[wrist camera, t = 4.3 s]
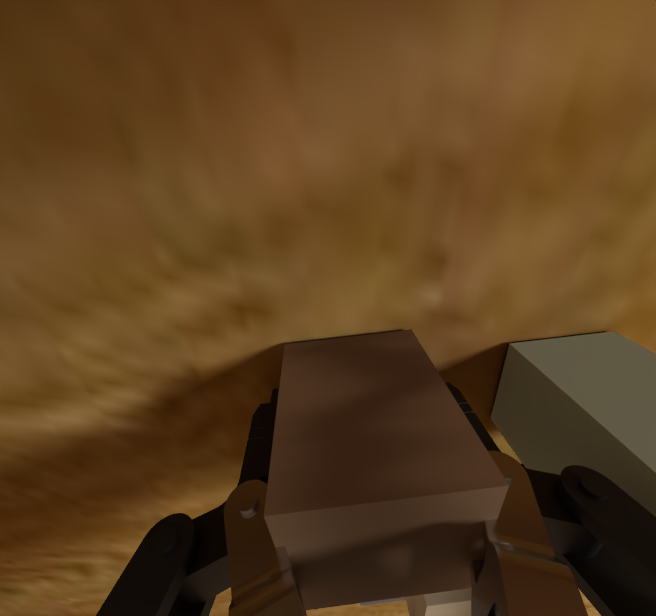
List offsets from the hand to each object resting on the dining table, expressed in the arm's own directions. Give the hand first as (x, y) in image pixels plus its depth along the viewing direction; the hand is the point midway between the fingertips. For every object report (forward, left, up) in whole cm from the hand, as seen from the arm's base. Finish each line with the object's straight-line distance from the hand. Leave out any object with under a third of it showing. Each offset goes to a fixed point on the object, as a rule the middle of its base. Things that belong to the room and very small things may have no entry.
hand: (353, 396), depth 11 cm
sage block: (-9, +1, -1) cm, 9 cm away
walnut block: (0, 0, -1) cm, 1 cm away
